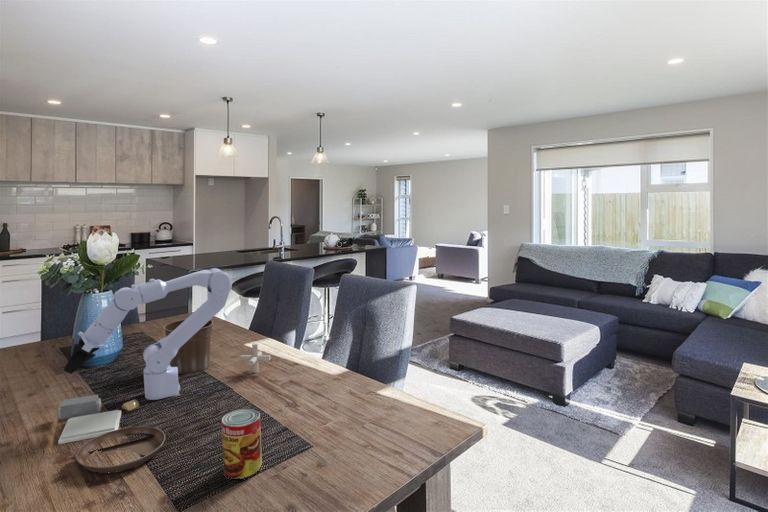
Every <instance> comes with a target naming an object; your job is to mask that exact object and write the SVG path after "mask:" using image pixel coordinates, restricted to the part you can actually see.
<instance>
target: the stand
mask: <svg viewBox="0 0 768 512" xmlns="http://www.w3.org/2000/svg"><path fill="white" fill-rule="evenodd" d="M121 417H122V410H119V409H115V410H110V411H103V412H99V413H97V414H91V415H85V416H80V417H74V418H68V419H67V420H66V424H65V426H64V428H63V430H62V432H61V434H60V436H59V438H58V441H57V442H58V445H61V444H67V443H72V442H78V441H83V440H88V439H94V438H96V437H98V436H100V435H103V434H105V433H108V432H111V431H115V430H118V429H119V425H120V422H121Z"/></svg>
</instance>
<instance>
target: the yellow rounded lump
mask: <svg viewBox="0 0 768 512" xmlns="http://www.w3.org/2000/svg"><path fill="white" fill-rule="evenodd" d="M139 407H140V403H139V401H138V400H137V399H135V398H134V399H133V400H130V401H127V402H124V403H123V404H122V406H121V408H122V409H123V410H125V411H129V412H130V411H131V410H135V409H136V408H139Z"/></svg>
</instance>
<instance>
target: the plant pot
mask: <svg viewBox="0 0 768 512" xmlns="http://www.w3.org/2000/svg"><path fill="white" fill-rule="evenodd" d="M186 319H187V318H185V319H179V320H174V321H171V322H169V323H167V324H165V325H164V326H163V327H162V328H163V330H164V332H165V337H167V336H168V335H169V334H170V333H171V332H172V331H174V330H175V329H176V328H177V327H178V326H179V325H180V324H181V323H182V322H184V321H185V320H186ZM213 326H214V320H212V319H211V320H209V321H208V322H207V323H206V324H205V325H204V326H203V327H202V328H201V329H200V330H199V331H198V332H196V333H195V334H194V335H193V336H192V337H191V338H190V339H189V340H188V341H187V342H186V343H185V344H184V345H182V346H181V347H180V348H179V350H178V352H177V354H176V356H175V357H174V358H173V359H172V360H171V362H170V364H171V367H178V375H187V374H188V375H189V374H193V373H195V372H196V373H198V372H203V371H206V370H207V369H208V368H210V363H211V361H210V360H211V338H212V333H213Z"/></svg>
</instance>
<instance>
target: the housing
mask: <svg viewBox="0 0 768 512" xmlns="http://www.w3.org/2000/svg"><path fill="white" fill-rule="evenodd" d="M101 399H102V398H101V397H99V394H93V395H86V396H81V397H74V398H67V399H63V400H62V402H61V404H60V405H59V408H58V409H57V414H58V420H69V419H70V418H74V417H80V416H85V415H91V414H97V413H101V410H102V400H101Z"/></svg>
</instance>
